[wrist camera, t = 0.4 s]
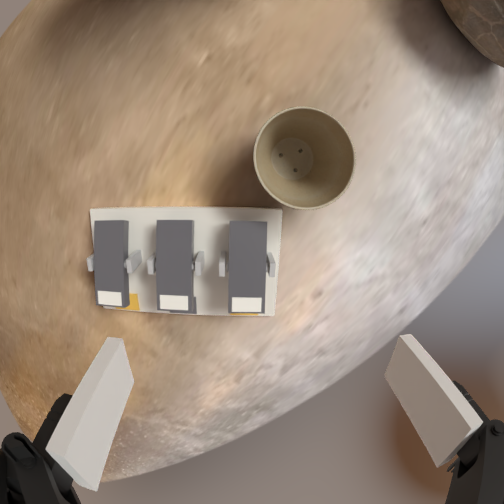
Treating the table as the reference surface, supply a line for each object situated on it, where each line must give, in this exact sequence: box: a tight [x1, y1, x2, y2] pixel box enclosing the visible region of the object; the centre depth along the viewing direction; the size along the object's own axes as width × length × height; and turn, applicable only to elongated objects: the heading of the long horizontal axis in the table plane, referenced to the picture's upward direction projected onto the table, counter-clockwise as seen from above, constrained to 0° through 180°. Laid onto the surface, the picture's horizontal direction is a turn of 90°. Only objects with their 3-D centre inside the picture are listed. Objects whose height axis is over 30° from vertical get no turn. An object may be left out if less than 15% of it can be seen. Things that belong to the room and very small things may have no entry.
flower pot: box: [253, 106, 356, 210], centre depth 27 cm, size 10×10×7 cm
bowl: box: [440, 0, 504, 67], centre depth 16 cm, size 24×24×15 cm
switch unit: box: [87, 206, 283, 316], centre depth 32 cm, size 14×24×5 cm, turn 88°
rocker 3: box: [227, 221, 268, 314], centre depth 30 cm, size 10×4×2 cm, turn 178°
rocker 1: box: [94, 220, 130, 308], centre depth 29 cm, size 10×4×2 cm, turn 178°
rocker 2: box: [155, 220, 195, 312], centre depth 30 cm, size 10×4×2 cm, turn 178°
